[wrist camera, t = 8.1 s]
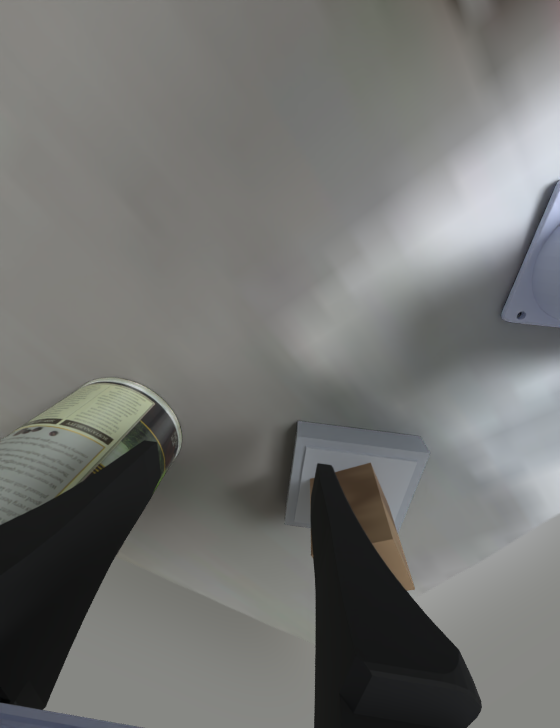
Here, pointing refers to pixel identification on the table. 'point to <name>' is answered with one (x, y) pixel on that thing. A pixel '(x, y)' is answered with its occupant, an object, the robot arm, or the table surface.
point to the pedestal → (355, 464)
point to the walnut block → (373, 517)
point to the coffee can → (82, 441)
